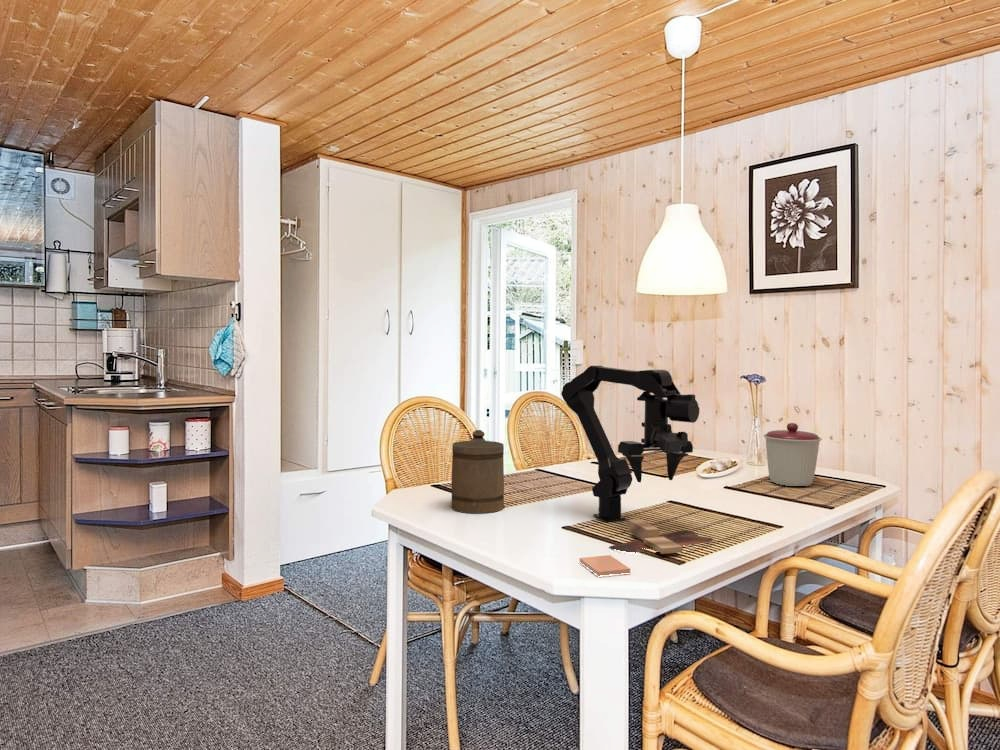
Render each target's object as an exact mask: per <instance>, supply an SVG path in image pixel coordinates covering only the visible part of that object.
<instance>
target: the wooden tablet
mask: <svg viewBox="0 0 1000 750" xmlns="http://www.w3.org/2000/svg"><path fill="white" fill-rule="evenodd" d="M697 535H698V534H697V533H696V532H694V531H691V530H688V529H687V530H686V529H685V530H684V529H682V530H677V531H671V532H666V533H661V534H660V533H659V537H665V538H667V539H669V540H671V541H673V542H675V543H676V544H678V545H680V546H683V545H690V544H697V543H703V542H709V541H712V540H714V541H715V539H714V538H712V537H708V536H707V537H706V536H699V537H698V536H697ZM608 548H609V549H610V548H611V550H612V549H616V550H620V551H626V552H635V553H636V552H640V550H639V548H640V549H642V548H643V549H644V548H645V549H646V548H647V549H648V548H649V549H650V548H651V547H649V546H647V545H646V544H644V541H643V540H641V539H639V538H637V539H635V540H631V541H630V540H629V541H626V543H625V542H622V544H621V543H618V544H614V545H611V546H608ZM637 549H638V550H637ZM643 549H642V550H643ZM645 549H644V550H645ZM651 549H653V548H651ZM642 550H641V551H642ZM644 550H643V551H644Z"/></svg>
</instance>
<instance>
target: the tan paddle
mask: <svg viewBox="0 0 1000 750" xmlns="http://www.w3.org/2000/svg"><path fill="white" fill-rule="evenodd" d="M628 533H629V534H631V535H632V536H634V537H636V538H637V539H641V540H643V541H644V544H646V545H647V546H649V547H651V548H653V549H654V550H656V551H658V552H660V554H661V555H666V554H675V553H683V548H682V546H680V545H678V544H676V543H675V542H673V541H671V540H669V539H667V538H665V537H659V535H660V528H657V527H656V526H654V525H652V524H651V523H648V522H646V521H644V520H642V519H638V518H637V519H628Z"/></svg>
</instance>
